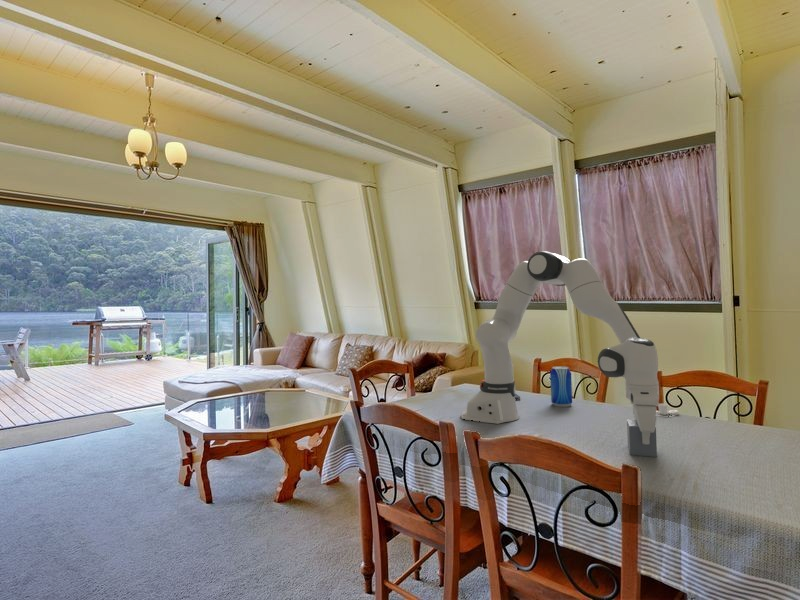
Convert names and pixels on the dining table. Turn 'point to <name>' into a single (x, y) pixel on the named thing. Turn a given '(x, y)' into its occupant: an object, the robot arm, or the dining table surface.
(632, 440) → the grey rectangular block
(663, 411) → the teacup and saucer
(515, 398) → the woven mat
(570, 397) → the beer can
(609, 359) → the robot arm
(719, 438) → the dining table surface
